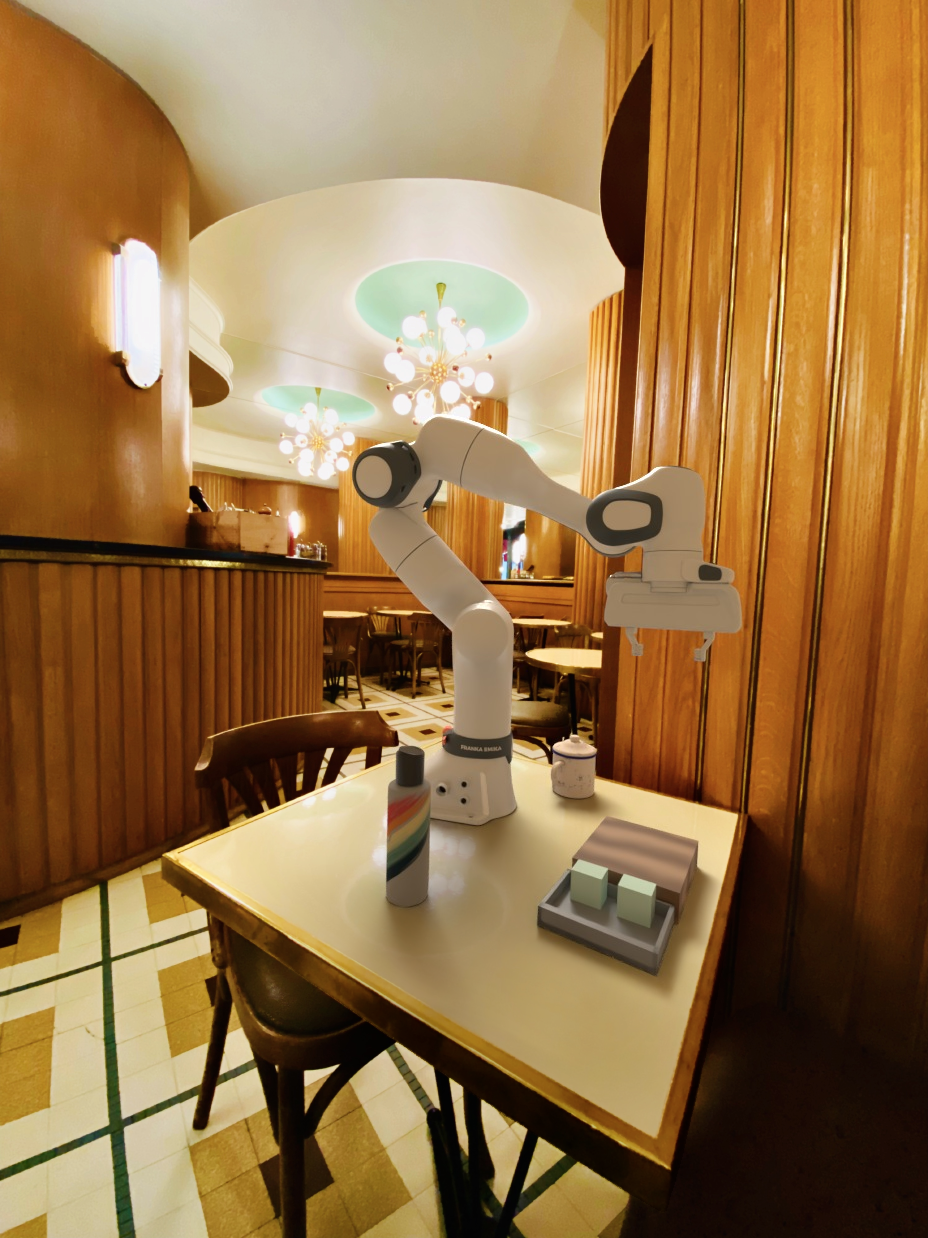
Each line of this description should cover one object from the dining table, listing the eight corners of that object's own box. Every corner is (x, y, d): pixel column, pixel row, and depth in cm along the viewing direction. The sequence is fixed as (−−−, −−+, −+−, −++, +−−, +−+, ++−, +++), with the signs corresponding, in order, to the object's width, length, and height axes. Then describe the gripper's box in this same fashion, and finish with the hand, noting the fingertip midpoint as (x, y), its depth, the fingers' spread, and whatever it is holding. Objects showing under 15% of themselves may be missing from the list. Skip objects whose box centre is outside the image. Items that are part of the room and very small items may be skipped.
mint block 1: (578, 859, 67) (571, 869, 64) (608, 868, 65) (601, 879, 62) (577, 887, 67) (570, 899, 64) (606, 898, 65) (600, 910, 62)
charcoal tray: (567, 886, 69) (567, 868, 68) (674, 925, 61) (675, 906, 61) (537, 925, 60) (537, 905, 60) (656, 976, 53) (657, 954, 52)
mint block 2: (623, 873, 63) (617, 885, 61) (656, 884, 61) (651, 896, 59) (622, 903, 64) (616, 916, 61) (654, 915, 62) (650, 928, 59)
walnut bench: (605, 839, 82) (606, 815, 82) (697, 866, 75) (698, 840, 74) (571, 885, 69) (572, 857, 69) (678, 924, 61) (679, 893, 61)
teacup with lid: (566, 779, 109) (568, 727, 108) (603, 792, 102) (606, 737, 101) (533, 793, 100) (535, 737, 100) (570, 808, 94) (573, 748, 93)
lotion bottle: (387, 882, 68) (390, 741, 67) (428, 881, 69) (431, 741, 68) (384, 908, 63) (387, 755, 62) (428, 907, 63) (432, 755, 62)
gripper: (600, 570, 81) (597, 653, 82) (742, 570, 70) (737, 666, 70) (611, 572, 86) (608, 650, 87) (745, 572, 75) (740, 662, 76)
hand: (667, 657), depth 79 cm, fingers open, 8 cm apart
